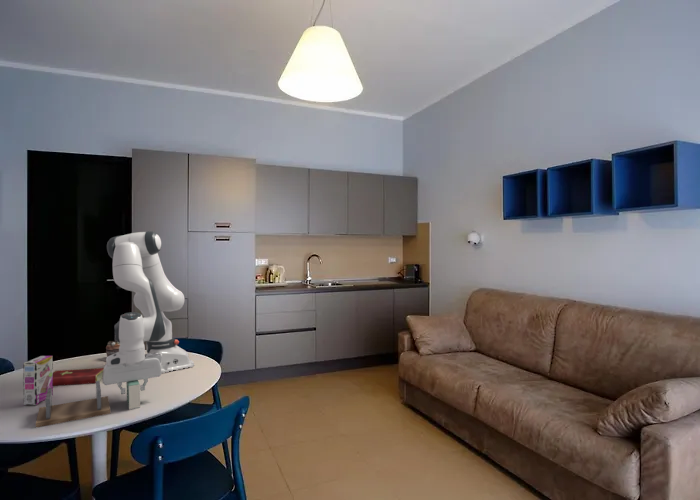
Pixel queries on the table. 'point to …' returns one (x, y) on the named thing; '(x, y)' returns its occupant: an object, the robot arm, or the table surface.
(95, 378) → the hardcover book
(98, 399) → the bookends
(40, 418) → the shelf board
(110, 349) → the cupcake
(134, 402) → the book
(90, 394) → the table surface
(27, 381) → the candy bar box
